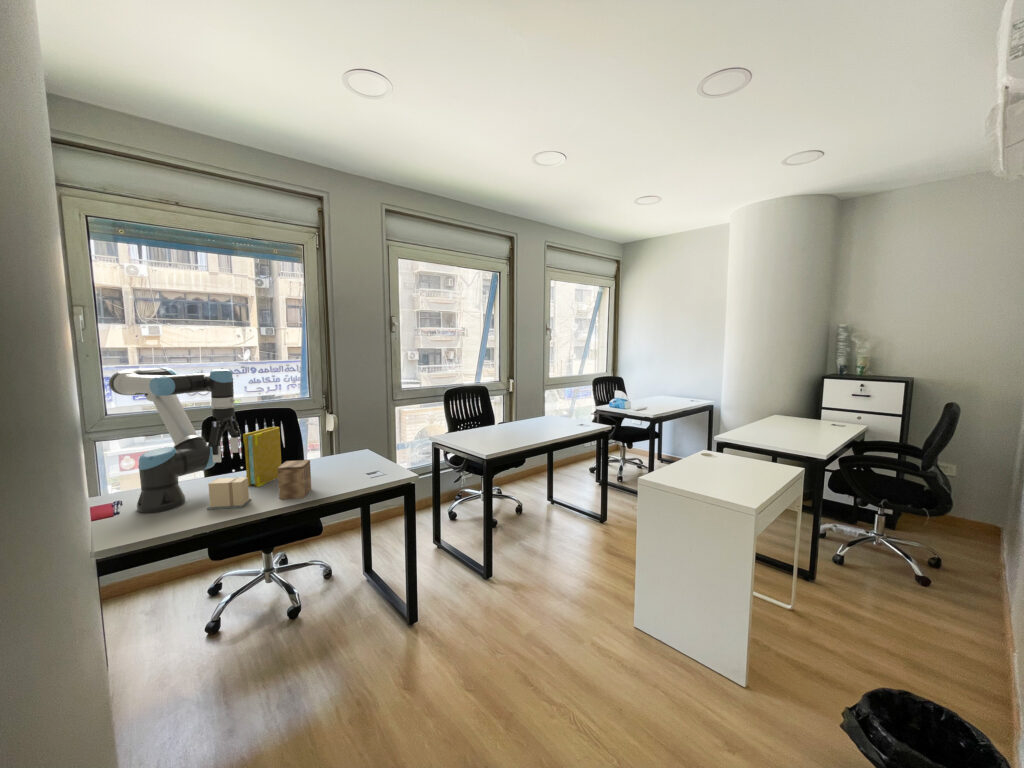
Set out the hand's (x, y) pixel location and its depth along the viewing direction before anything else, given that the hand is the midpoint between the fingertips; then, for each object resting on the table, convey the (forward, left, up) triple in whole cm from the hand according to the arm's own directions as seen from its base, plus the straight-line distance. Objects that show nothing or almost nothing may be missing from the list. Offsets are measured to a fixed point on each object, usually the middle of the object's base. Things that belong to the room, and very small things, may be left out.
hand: (226, 457), depth 168 cm
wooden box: (+24, +6, -20) cm, 32 cm away
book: (+4, +27, -20) cm, 34 cm away
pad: (+1, -2, -20) cm, 20 cm away
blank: (+1, -2, -19) cm, 20 cm away
